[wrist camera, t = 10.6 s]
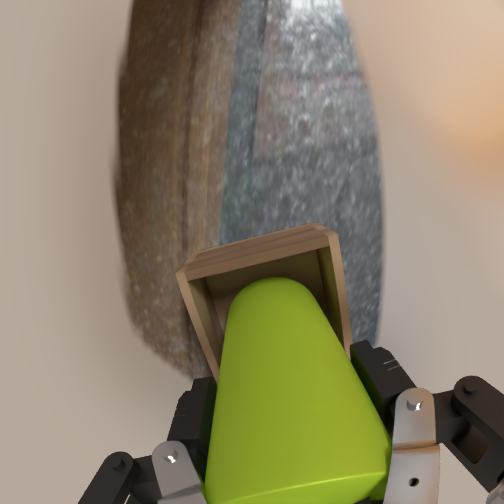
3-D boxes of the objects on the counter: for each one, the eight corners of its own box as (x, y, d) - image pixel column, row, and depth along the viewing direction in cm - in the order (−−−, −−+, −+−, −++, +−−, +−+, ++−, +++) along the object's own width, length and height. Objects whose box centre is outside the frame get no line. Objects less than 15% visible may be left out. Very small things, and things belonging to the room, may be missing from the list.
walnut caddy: (193, 252, 18) (175, 274, 14) (315, 222, 18) (337, 233, 13) (231, 365, 20) (227, 406, 16) (335, 340, 20) (354, 376, 15)
